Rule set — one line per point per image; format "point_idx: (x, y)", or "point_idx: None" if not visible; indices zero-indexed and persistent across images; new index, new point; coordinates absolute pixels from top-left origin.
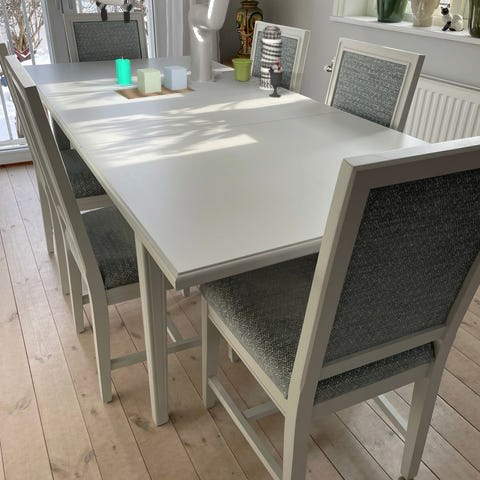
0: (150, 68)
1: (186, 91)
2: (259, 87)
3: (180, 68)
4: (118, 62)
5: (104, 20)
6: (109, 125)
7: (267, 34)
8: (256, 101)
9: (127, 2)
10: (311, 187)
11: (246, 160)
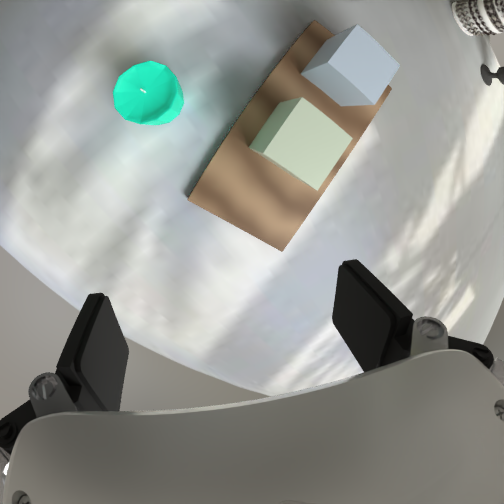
0: (300, 109)
1: (377, 105)
2: (455, 19)
3: (385, 68)
4: (144, 123)
5: (124, 340)
6: (320, 365)
7: None
8: (479, 120)
9: (461, 360)
10: (479, 342)
11: (459, 338)
